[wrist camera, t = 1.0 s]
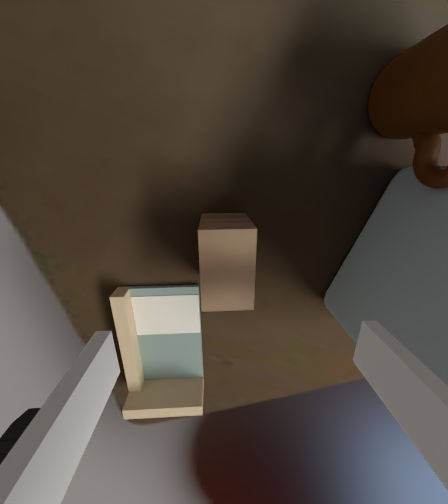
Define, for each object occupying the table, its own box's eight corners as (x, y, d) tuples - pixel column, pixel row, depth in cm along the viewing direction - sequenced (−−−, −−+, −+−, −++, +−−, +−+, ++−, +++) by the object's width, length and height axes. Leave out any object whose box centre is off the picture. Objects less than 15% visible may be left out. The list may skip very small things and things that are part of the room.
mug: (411, 185, 26) (513, 193, 17) (347, 182, 26) (418, 189, 17) (451, 55, 22) (611, -21, 13) (375, 49, 22) (488, -34, 13)
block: (201, 213, 26) (197, 230, 19) (245, 212, 26) (257, 228, 19) (204, 276, 29) (201, 311, 22) (243, 275, 29) (253, 309, 22)
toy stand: (117, 286, 29) (99, 310, 24) (198, 284, 29) (196, 306, 24) (136, 385, 34) (124, 419, 30) (203, 381, 35) (202, 415, 30)
